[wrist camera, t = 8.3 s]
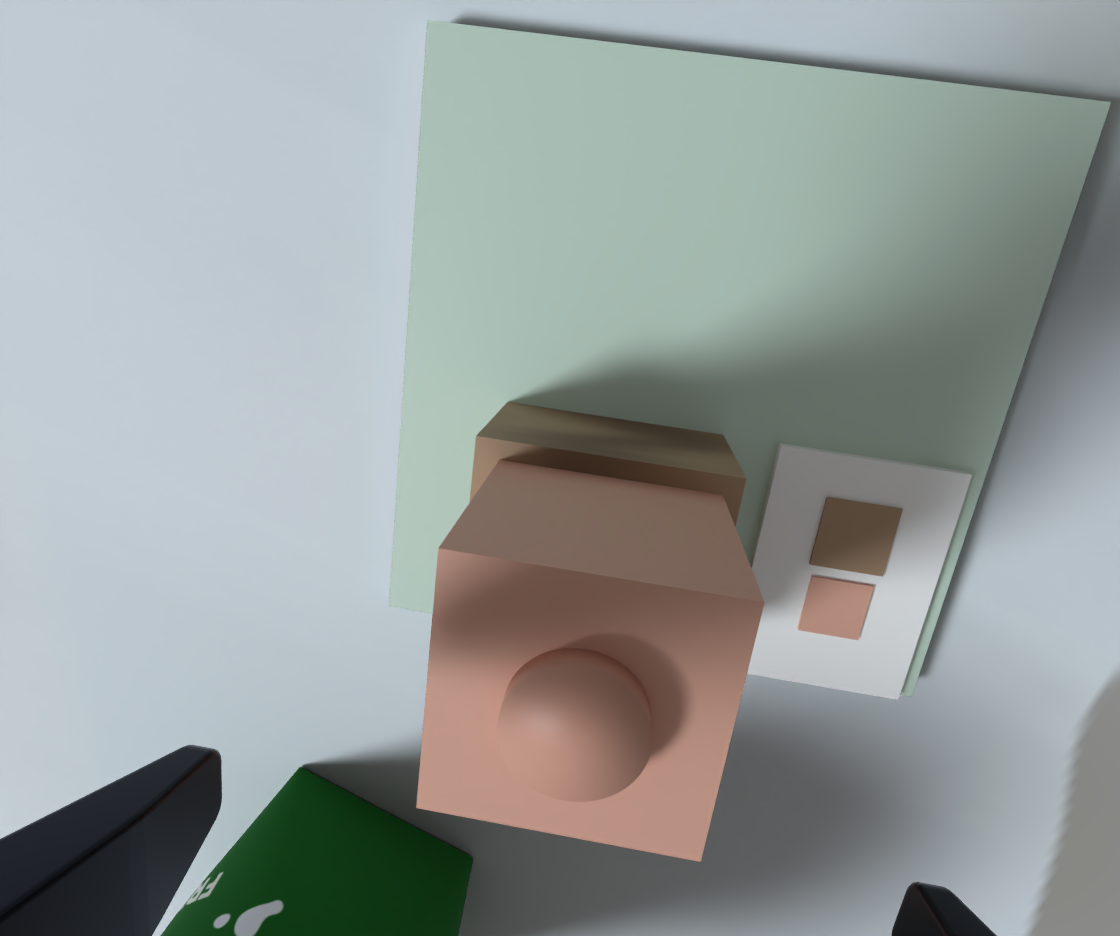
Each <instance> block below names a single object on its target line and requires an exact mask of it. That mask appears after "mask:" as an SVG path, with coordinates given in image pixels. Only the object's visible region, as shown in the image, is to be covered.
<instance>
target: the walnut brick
mask: <svg viewBox="0 0 1120 936" xmlns="http://www.w3.org/2000/svg"><path fill="white" fill-rule="evenodd" d="M499 460H503V461H509V462H516V463H522V464H529V465H535V466H541V467H548V468H554V469H560V470H567V471H573V472H580V473H586V474H592V475H599V476H605V477H612V478H618V479H624V480H631V481H637V482H643V483H650V484H656V485H663V486H669V487H675V488H682V489H688V490H695V491H701V492H707V493H714V494H720V495H723V497H724V499H725V502H726V504H727V507H728V510H729V512H730V515H731V517H732V520H733V522H734V525H735V527H736V522H737V518H738V514H739V509H740V505H741V500H742V496H743V491H744V487H745V483H746V477H745V475H744V473H743V471H742V469H741V467H740V465H739V463H738V462H737V460H736V458H735V456H734V454H733V452H732V450H731V448H730V446H729V445H728V443H727V441H726V439H725V437H724V435H722V434H715V433H709V432H702V431H695V430H689V429H682V428H676V427H669V426H663V425H656V424H650V423H643V422H637V421H630V420H624V419H617V418H611V417H604V416H598V415H591V414H585V413H578V412H572V411H565V410H559V409H552V408H545V407H539V406H532V405H526V404H519V403H513V402H507V403H506V404H505V405H504V406H503V407H502V408H501V409H500V411H499V412H498V413H497V414H496V415H495V416H494V417H493V418H492V419H491V420H490V421H489V422H488V423H487V425H486V426H485V427H484V428H483V429H482V430H481V431H480V432H479V433H478V434H477V435H476V441H475V451H474V461H473V471H472V481H471V491H470V501H469V503H470V502H471V500H472V499H473V497H474V496H475V494H476V493H477V491H478V490H479V489H480V487H481V486H482V484H483V483H484V481H485V480H486V478H487V477H488V476H489V474H490V473H491V471H492V470H493V468H494V467H495V465H496V464H497V463H498V461H499Z"/></svg>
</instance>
